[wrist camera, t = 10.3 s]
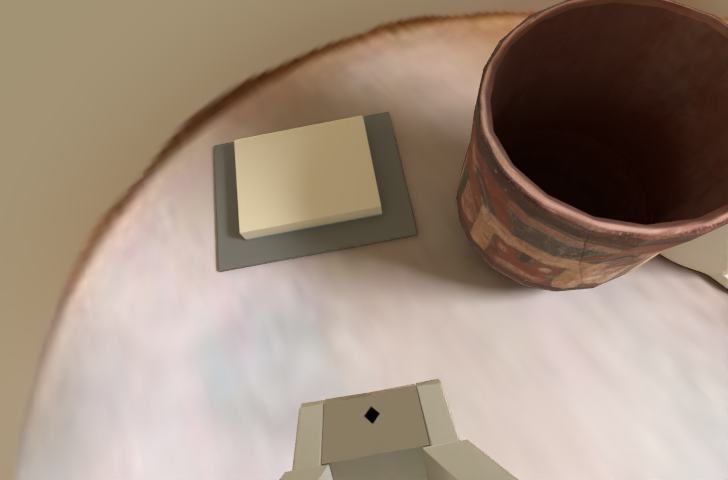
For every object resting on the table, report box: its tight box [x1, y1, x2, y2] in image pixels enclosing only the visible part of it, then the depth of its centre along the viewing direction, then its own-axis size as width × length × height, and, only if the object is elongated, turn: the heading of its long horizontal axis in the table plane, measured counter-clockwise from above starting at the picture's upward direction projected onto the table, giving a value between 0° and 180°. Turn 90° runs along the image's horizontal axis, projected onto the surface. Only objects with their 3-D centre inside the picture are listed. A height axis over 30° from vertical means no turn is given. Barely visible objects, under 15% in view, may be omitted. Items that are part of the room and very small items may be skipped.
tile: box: [234, 115, 382, 240], centre depth 44 cm, size 14×2×11 cm
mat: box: [214, 112, 417, 272], centre depth 45 cm, size 20×15×1 cm
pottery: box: [456, 0, 728, 291], centre depth 33 cm, size 18×18×18 cm
